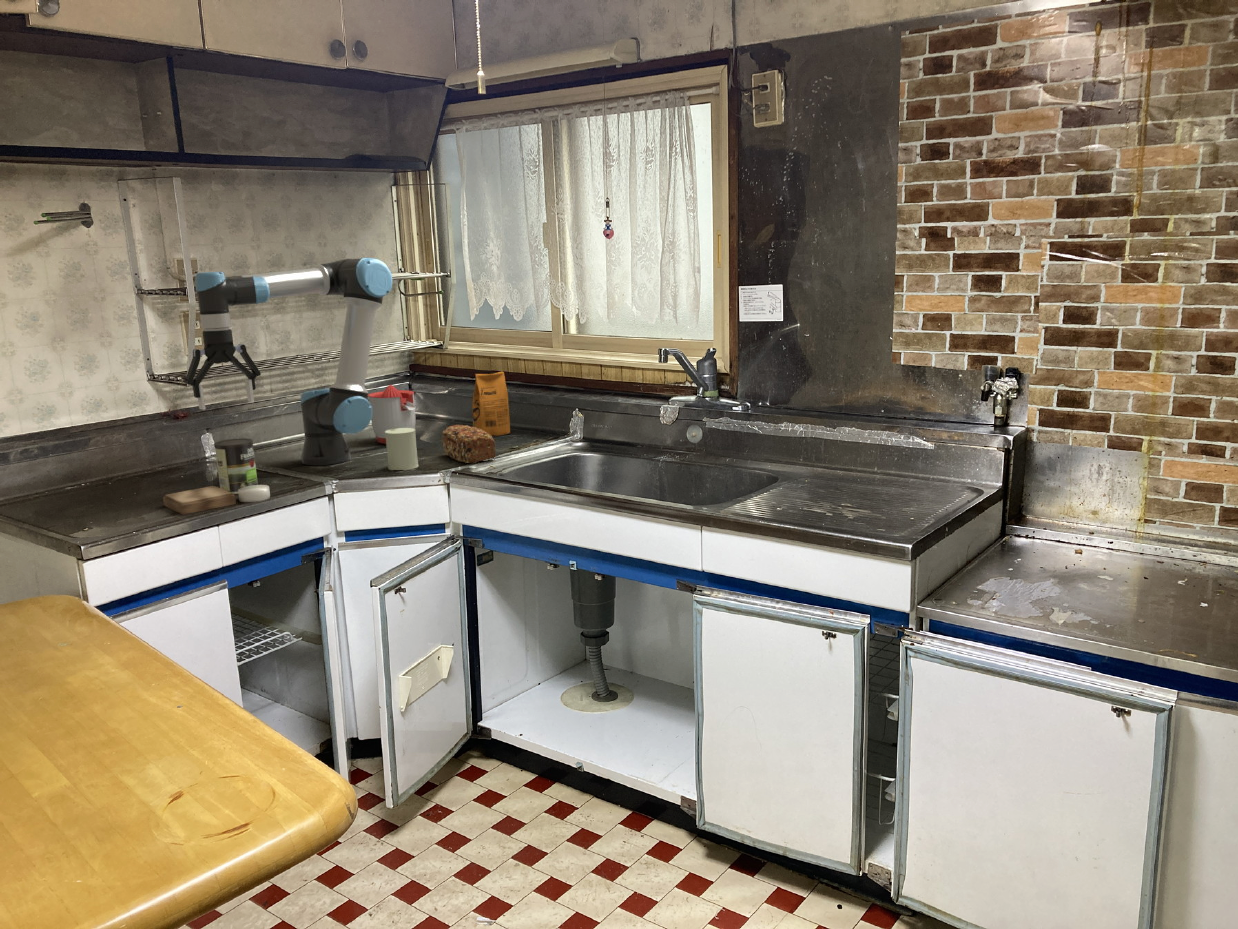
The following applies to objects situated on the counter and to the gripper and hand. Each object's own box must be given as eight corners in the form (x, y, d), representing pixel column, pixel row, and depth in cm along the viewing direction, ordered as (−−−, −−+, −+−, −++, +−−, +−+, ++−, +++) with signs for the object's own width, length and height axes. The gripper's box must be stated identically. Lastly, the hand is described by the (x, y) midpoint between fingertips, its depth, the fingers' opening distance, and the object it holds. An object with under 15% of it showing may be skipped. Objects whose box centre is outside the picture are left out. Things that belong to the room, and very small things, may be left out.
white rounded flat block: (263, 493, 272) (261, 483, 271) (275, 498, 266) (273, 488, 265) (234, 499, 267) (233, 488, 266) (246, 504, 261) (245, 493, 260)
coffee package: (471, 433, 348) (467, 372, 343) (504, 430, 353) (500, 369, 348) (479, 438, 339) (474, 375, 334) (512, 434, 344) (509, 372, 339)
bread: (442, 455, 313) (440, 425, 311) (473, 451, 319) (471, 421, 316) (466, 465, 298) (464, 433, 295) (497, 460, 303) (495, 429, 301)
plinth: (216, 495, 271) (214, 485, 270) (236, 503, 261) (234, 493, 260) (164, 505, 262) (162, 494, 261) (182, 514, 252) (180, 503, 251)
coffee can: (265, 485, 280) (260, 438, 277) (245, 495, 270) (239, 445, 267) (233, 485, 282) (227, 437, 279) (212, 494, 272) (206, 445, 269)
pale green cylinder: (402, 463, 304) (399, 425, 301) (424, 465, 299) (421, 427, 297) (381, 469, 296) (378, 430, 294) (404, 471, 292) (400, 432, 289)
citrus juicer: (399, 447, 327) (394, 389, 323) (362, 444, 336) (357, 386, 332) (431, 439, 340) (426, 382, 336) (395, 435, 349) (390, 380, 345)
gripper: (255, 324, 277) (265, 397, 282) (164, 333, 260) (176, 410, 265) (266, 325, 271) (276, 400, 276) (174, 334, 255) (186, 413, 260)
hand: (227, 405), depth 271 cm, fingers open, 13 cm apart
